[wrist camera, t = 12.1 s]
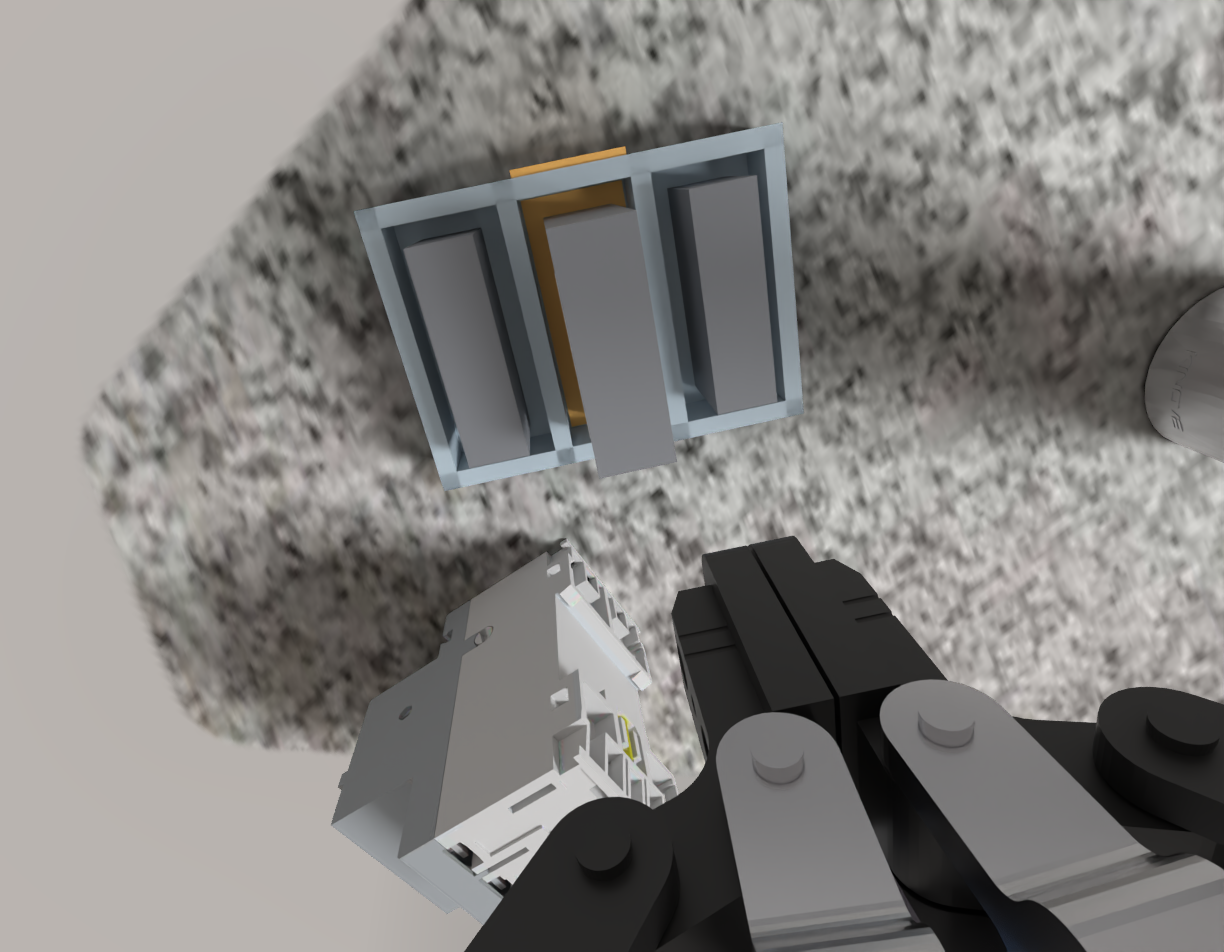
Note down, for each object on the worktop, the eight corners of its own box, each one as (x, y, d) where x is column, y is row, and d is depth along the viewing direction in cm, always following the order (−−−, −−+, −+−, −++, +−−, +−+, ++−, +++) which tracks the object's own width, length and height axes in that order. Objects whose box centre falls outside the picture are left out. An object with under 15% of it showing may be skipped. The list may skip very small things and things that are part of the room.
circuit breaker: (361, 669, 39) (266, 936, 25) (566, 538, 37) (585, 750, 23) (445, 746, 41) (401, 1023, 28) (639, 629, 39) (695, 865, 26)
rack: (754, 121, 29) (800, 108, 24) (778, 392, 34) (820, 427, 29) (370, 200, 29) (336, 204, 24) (453, 462, 34) (438, 510, 29)
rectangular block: (611, 203, 29) (637, 210, 22) (645, 399, 33) (677, 461, 25) (542, 217, 29) (544, 229, 22) (584, 412, 33) (598, 478, 25)
